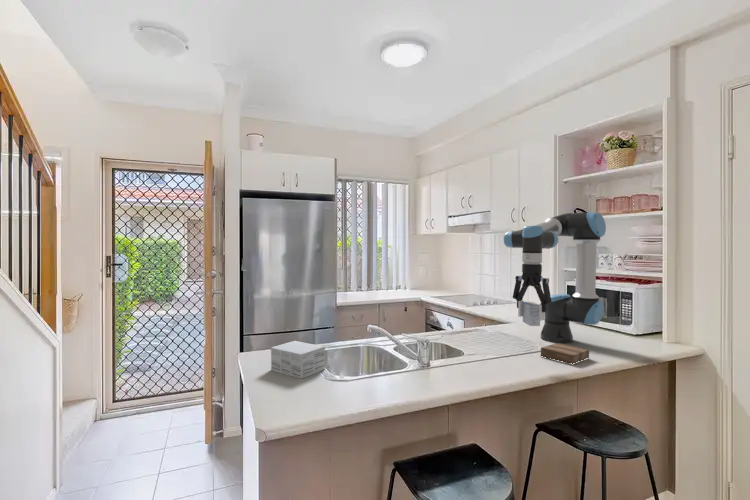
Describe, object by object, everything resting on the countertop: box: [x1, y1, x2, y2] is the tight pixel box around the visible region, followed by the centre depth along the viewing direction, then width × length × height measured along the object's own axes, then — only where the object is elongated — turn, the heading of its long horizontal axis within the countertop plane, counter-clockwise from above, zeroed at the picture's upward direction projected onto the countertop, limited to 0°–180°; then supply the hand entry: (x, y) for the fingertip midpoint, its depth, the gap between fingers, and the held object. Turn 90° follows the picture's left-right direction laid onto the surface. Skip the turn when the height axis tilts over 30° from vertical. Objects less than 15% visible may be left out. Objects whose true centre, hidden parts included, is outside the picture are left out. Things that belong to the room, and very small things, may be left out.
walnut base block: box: [540, 342, 590, 364], centre depth 172 cm, size 14×14×4 cm
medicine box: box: [522, 301, 541, 327], centre depth 162 cm, size 8×4×9 cm, turn 179°
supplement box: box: [270, 340, 326, 380], centre depth 154 cm, size 17×13×9 cm
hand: (531, 318), depth 163 cm, fingers closed on medicine box, 9 cm apart
